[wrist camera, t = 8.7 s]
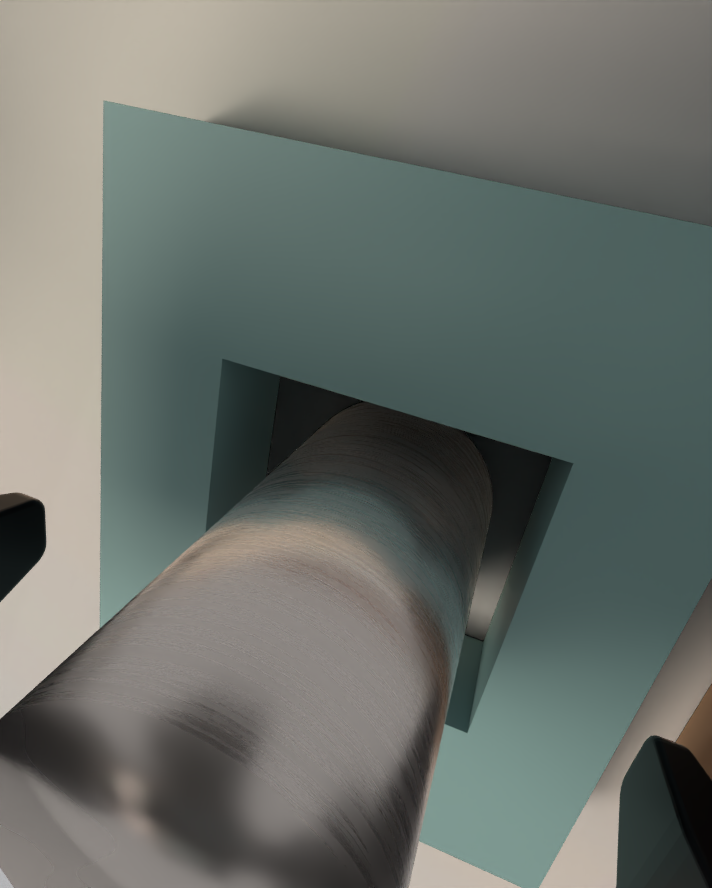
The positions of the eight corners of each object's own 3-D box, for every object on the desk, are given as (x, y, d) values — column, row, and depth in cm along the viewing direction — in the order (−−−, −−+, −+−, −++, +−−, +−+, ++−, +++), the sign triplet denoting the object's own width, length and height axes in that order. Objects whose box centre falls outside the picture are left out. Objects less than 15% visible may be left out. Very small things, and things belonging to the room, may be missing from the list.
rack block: (802, 248, 9) (887, 263, 6) (539, 781, 14) (535, 893, 11) (198, 123, 11) (103, 100, 8) (164, 627, 16) (99, 696, 13)
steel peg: (519, 434, 11) (445, 856, 4) (462, 602, 13) (335, 1112, 5) (319, 375, 12) (-50, 629, 5) (291, 540, 13) (-13, 913, 6)
